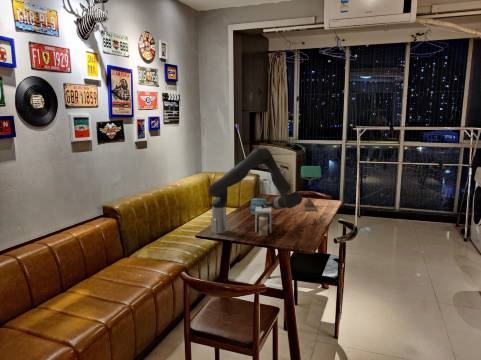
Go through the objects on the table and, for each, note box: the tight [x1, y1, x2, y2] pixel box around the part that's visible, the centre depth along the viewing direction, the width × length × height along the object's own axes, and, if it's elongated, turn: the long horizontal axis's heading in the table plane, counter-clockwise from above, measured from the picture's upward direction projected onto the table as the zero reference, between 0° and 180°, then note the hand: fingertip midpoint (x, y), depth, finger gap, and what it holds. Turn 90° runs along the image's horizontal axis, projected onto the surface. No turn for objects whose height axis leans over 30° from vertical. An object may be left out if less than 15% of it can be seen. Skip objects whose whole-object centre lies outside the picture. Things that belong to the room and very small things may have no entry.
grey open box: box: [257, 215, 270, 229], centre depth 248 cm, size 10×9×6 cm
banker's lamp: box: [300, 165, 322, 212], centre depth 290 cm, size 16×21×35 cm
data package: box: [250, 197, 268, 216], centre depth 277 cm, size 12×4×12 cm, turn 75°
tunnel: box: [254, 207, 272, 234], centre depth 238 cm, size 10×11×14 cm
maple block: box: [258, 213, 269, 237], centre depth 233 cm, size 6×12×11 cm, turn 176°
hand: (268, 205), depth 225 cm, fingers open, 8 cm apart
